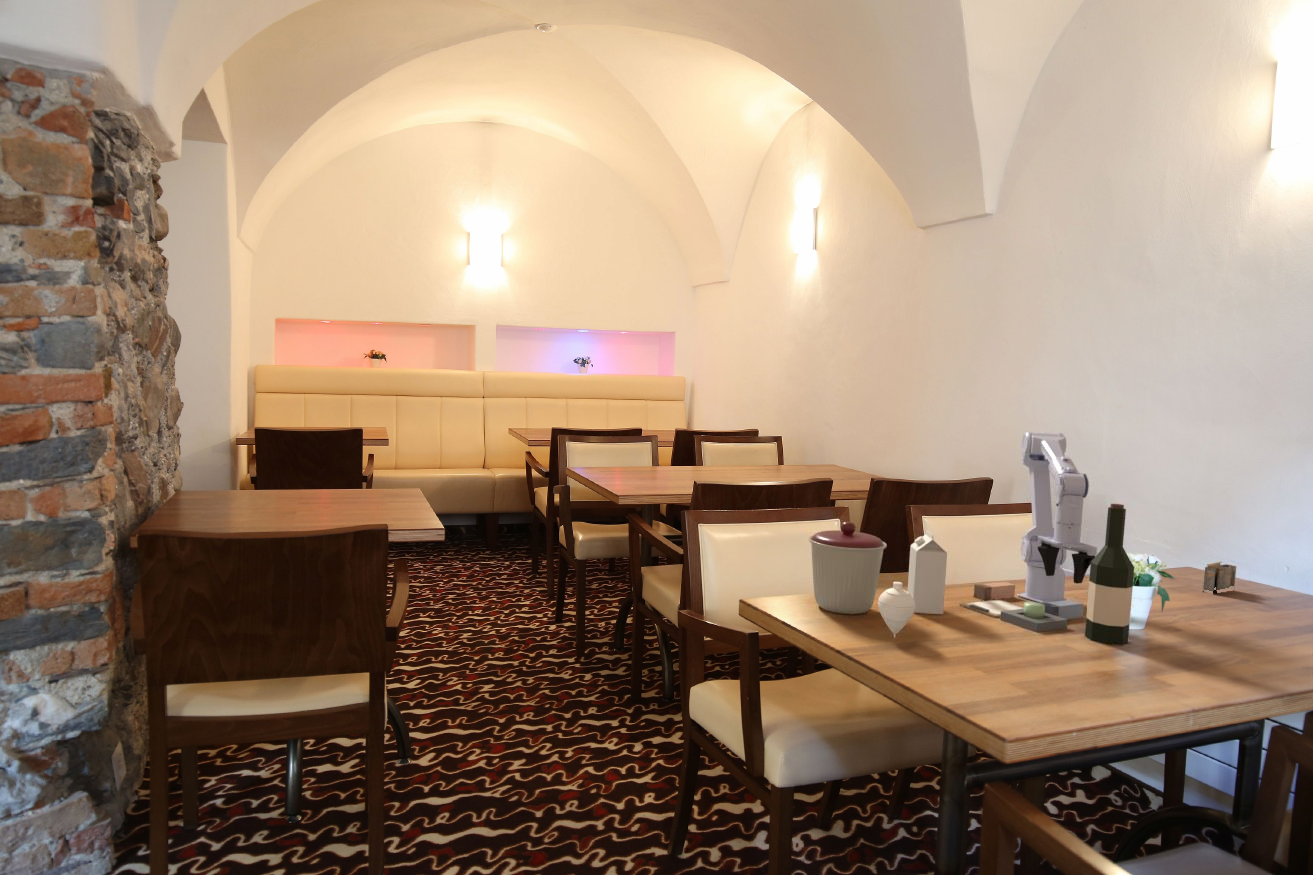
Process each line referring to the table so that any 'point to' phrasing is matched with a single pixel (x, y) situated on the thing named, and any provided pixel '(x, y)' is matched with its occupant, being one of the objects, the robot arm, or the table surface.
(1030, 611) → the button
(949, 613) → the table surface
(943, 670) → the table surface
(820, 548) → the canister
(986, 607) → the tan flat tray
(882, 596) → the spinning top
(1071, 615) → the grey rectangular bar
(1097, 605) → the wine bottle
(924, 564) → the milk carton
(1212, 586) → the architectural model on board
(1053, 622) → the button housing
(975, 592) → the block
